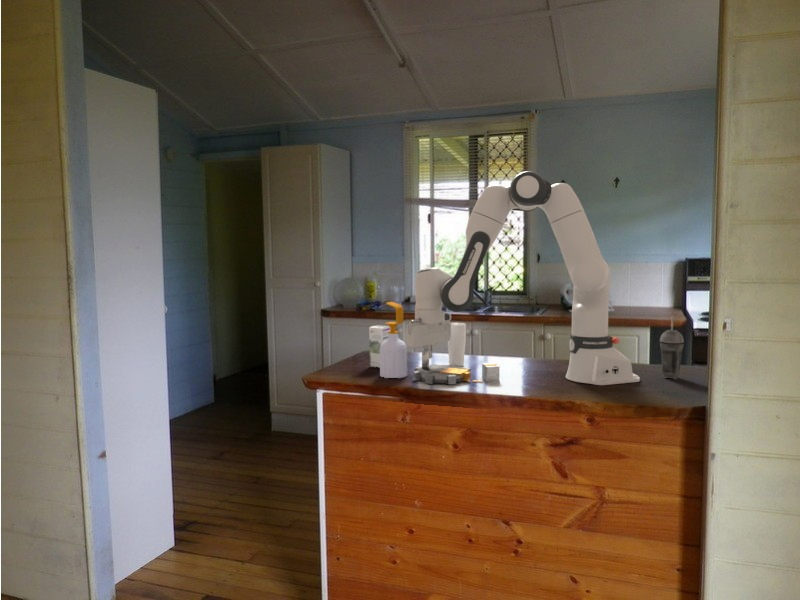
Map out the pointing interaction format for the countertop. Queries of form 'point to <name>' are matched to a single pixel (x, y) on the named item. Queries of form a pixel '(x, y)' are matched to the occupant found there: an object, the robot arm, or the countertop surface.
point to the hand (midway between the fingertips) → (428, 358)
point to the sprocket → (440, 372)
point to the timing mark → (476, 381)
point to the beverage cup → (671, 352)
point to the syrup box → (377, 343)
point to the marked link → (490, 372)
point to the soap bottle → (393, 349)
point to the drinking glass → (457, 344)
